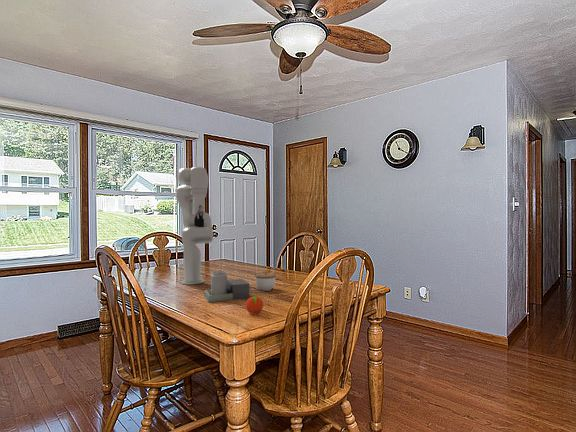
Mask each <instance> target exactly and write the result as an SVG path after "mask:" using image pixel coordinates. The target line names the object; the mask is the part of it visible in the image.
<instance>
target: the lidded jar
mask: <svg viewBox="0 0 576 432" xmlns="http://www.w3.org/2000/svg"><path fill="white" fill-rule="evenodd" d="M276 276H277V274H276V273H272V272H267V271H265V270H264V272H261V273H260V272H259V273H256V274H255V275H254V277H255V284H256V287H257V288H258V289H259V290H260V291H263V292H264V291H271V290H272V289H273V288H274V286H275V285H276Z"/></svg>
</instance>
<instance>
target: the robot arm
mask: <svg viewBox="0 0 576 432" xmlns="http://www.w3.org/2000/svg"><path fill="white" fill-rule="evenodd" d="M177 179H178V182H179V183H180V184H183V185H180V186H178V187H177V188H176V192H175V195H176V199H177V200H176V201H177V203H178V205H179V207H180V209H181V216H182V224H183V227H184V228H183V229H182V231H181V239H182V247H183V279H182V280H181V281H180V284H181V285H189V286H190V285H199V284H202V283H204V282H205V281H204V279H203V278H202V263H201V261H202V259H201V258H202V255H201V252H202V251H201V249H200V248H199V246H197V245H200V244H204V245H205V244H211V243H212V242H213V240H214V231H213V224H212V219H211V215H210V214H209V213H208V212H206V211H205V198H206V197H207V194H208V187H209V186H208V185H209V175H208V172H207V169H206V168H205V167H204V166H202V167H201V166H193V167H191V168H190V167H187V168H186V167H184V168H183V167H182V168H180V169H179V170H178V174H177ZM191 200H192V201H191Z"/></svg>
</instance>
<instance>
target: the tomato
mask: <svg viewBox="0 0 576 432" xmlns="http://www.w3.org/2000/svg"><path fill="white" fill-rule="evenodd" d="M245 308H246V311H247V312H248V313H250V314H253V315H257V314H259V313H261V311H262V310H263V308H264V302H263V300H262V298H261V297H259V296H255V295H253V296H249V298H248V299H247V300H246V303H245Z"/></svg>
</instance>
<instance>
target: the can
mask: <svg viewBox="0 0 576 432" xmlns="http://www.w3.org/2000/svg"><path fill="white" fill-rule="evenodd" d="M227 280H228V274H227V272H226V271H225V270H216V271H215V270H214V271H212V272H211V275H210V290H211V295H218V294H227Z"/></svg>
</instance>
